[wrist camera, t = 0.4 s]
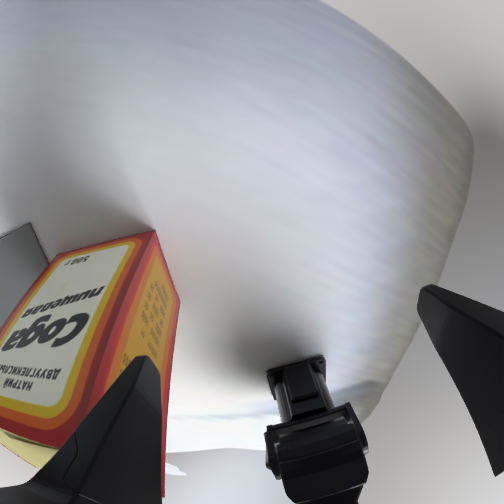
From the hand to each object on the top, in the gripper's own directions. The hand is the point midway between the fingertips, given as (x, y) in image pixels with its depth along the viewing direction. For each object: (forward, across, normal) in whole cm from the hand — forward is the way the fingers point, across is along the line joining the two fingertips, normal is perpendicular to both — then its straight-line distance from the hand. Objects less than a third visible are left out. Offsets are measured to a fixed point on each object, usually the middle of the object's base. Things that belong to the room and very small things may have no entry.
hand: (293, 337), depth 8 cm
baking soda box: (+12, +12, +3) cm, 17 cm away
